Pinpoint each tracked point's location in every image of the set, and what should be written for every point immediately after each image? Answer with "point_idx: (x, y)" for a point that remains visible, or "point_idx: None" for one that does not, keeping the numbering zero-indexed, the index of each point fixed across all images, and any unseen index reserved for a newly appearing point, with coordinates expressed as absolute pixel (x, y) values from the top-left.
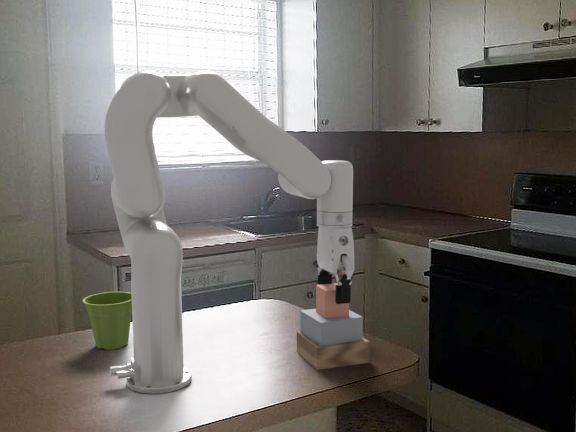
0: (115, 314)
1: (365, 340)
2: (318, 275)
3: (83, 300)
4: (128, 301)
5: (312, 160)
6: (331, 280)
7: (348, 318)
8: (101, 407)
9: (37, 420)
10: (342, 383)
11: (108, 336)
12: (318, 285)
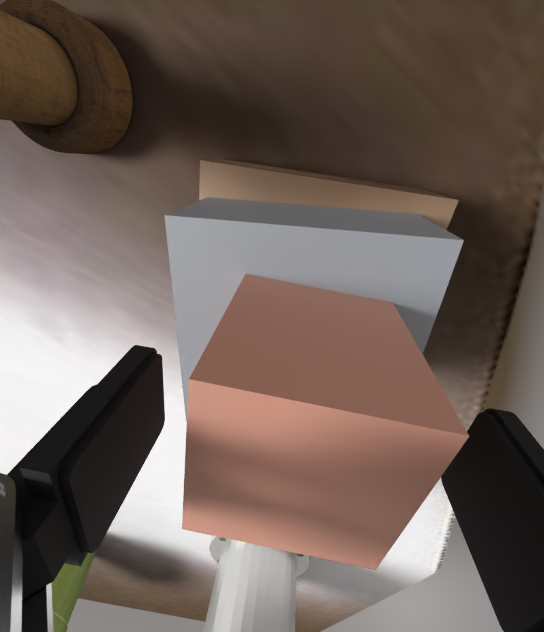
0: (64, 623)
1: (435, 209)
2: (77, 563)
3: None
4: None
5: None
6: (108, 421)
7: (422, 326)
8: (306, 597)
9: (304, 627)
10: (488, 353)
11: (87, 572)
12: (208, 529)
